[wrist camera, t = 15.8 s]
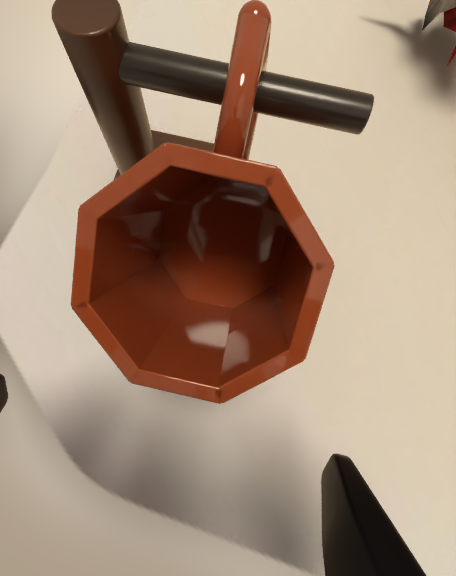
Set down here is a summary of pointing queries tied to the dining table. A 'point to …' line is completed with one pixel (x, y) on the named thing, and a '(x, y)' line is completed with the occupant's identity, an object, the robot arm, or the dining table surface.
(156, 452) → the dining table surface
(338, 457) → the robot arm
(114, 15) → the mug rack
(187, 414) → the dining table surface
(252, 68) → the mug
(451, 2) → the toy spacecraft
